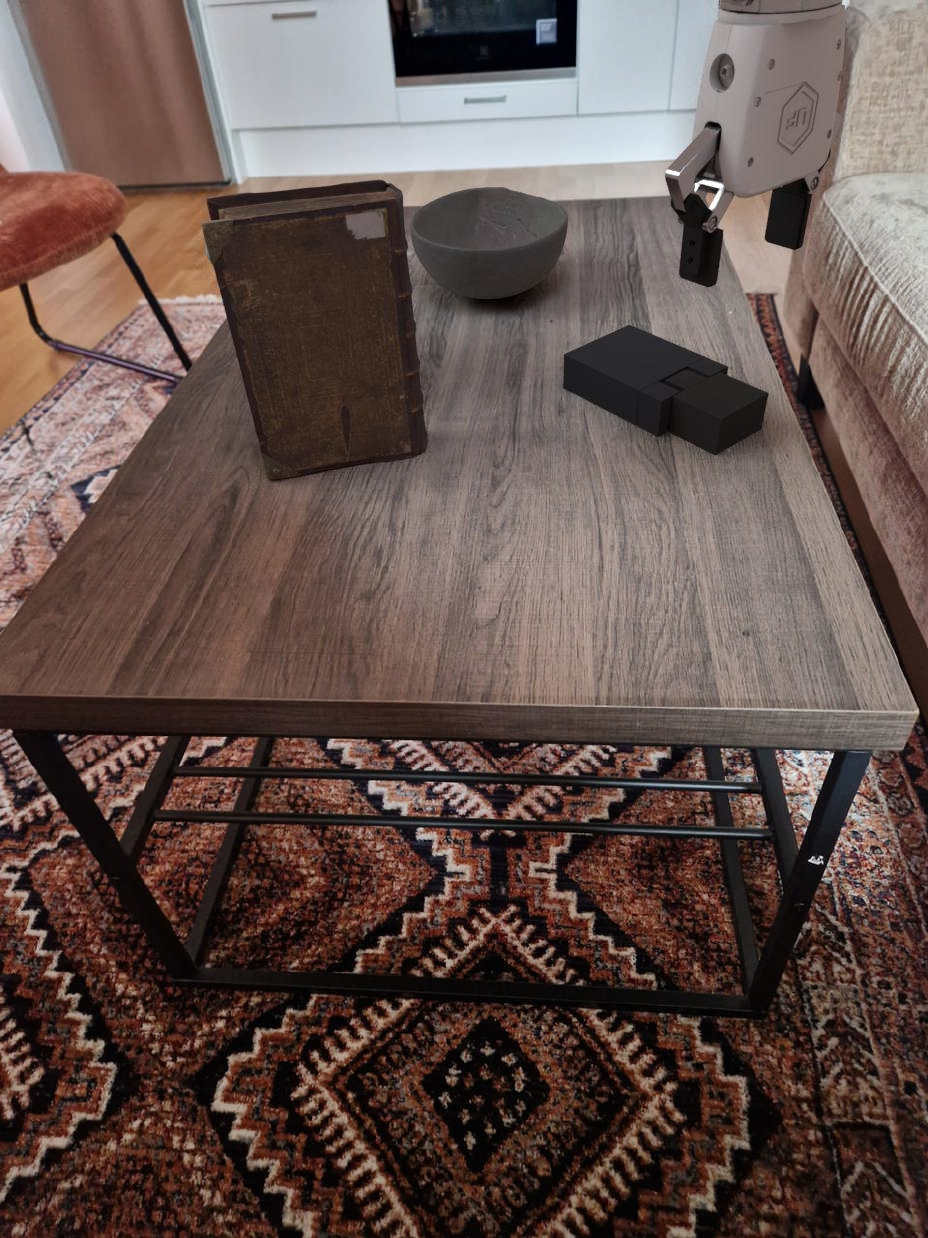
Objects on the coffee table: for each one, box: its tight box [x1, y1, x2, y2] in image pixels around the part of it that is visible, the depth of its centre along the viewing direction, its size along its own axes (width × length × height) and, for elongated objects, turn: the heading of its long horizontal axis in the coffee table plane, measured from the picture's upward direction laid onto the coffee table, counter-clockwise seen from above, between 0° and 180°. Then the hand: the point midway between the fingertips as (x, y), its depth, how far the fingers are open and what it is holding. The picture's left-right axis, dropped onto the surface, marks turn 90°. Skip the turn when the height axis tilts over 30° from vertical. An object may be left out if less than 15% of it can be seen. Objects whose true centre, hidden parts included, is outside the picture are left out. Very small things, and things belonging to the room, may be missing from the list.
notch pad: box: [562, 324, 729, 437], centre depth 90 cm, size 14×10×4 cm
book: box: [201, 179, 429, 481], centre depth 78 cm, size 17×7×25 cm, turn 95°
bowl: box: [409, 186, 569, 300], centre depth 110 cm, size 20×20×10 cm
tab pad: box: [665, 369, 770, 456], centre depth 85 cm, size 9×7×4 cm
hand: (741, 262), depth 65 cm, fingers open, 9 cm apart
